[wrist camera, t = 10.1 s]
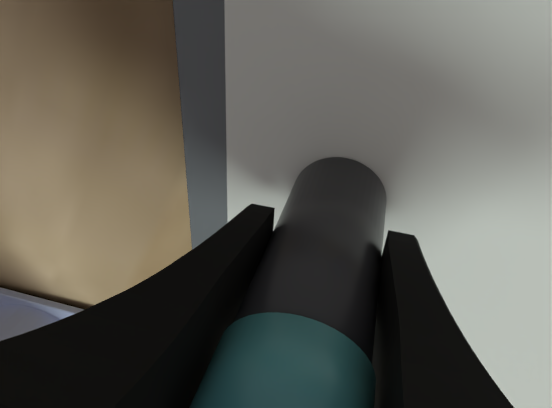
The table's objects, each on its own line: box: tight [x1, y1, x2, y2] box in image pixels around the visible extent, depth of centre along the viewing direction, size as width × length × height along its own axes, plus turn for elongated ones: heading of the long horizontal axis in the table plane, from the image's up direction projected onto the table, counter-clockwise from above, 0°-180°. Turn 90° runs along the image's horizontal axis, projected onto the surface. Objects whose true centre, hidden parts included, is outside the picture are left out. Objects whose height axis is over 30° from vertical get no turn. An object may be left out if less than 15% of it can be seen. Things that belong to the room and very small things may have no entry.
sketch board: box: [173, 0, 552, 408], centre depth 13 cm, size 16×18×1 cm
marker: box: [189, 157, 386, 408], centre depth 10 cm, size 3×3×8 cm
